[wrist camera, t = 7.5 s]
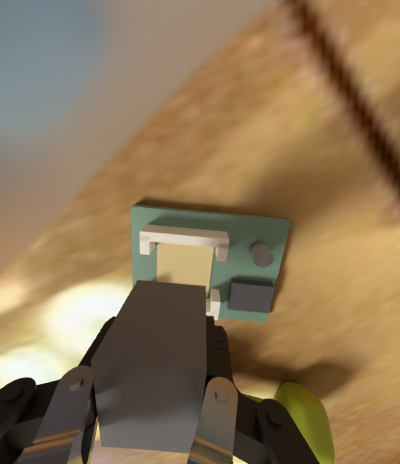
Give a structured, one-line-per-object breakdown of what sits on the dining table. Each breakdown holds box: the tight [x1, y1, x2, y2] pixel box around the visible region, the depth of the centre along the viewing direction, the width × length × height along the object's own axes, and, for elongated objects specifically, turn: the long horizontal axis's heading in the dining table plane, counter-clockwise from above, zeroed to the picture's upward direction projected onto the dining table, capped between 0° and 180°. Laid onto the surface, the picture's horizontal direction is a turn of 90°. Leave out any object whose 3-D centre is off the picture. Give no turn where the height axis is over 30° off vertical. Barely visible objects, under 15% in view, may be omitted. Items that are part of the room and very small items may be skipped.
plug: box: [91, 280, 207, 453], centre depth 10 cm, size 4×6×5 cm
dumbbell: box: [178, 381, 335, 464], centre depth 21 cm, size 16×8×7 cm, turn 72°
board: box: [131, 204, 291, 322], centre depth 18 cm, size 14×11×3 cm
